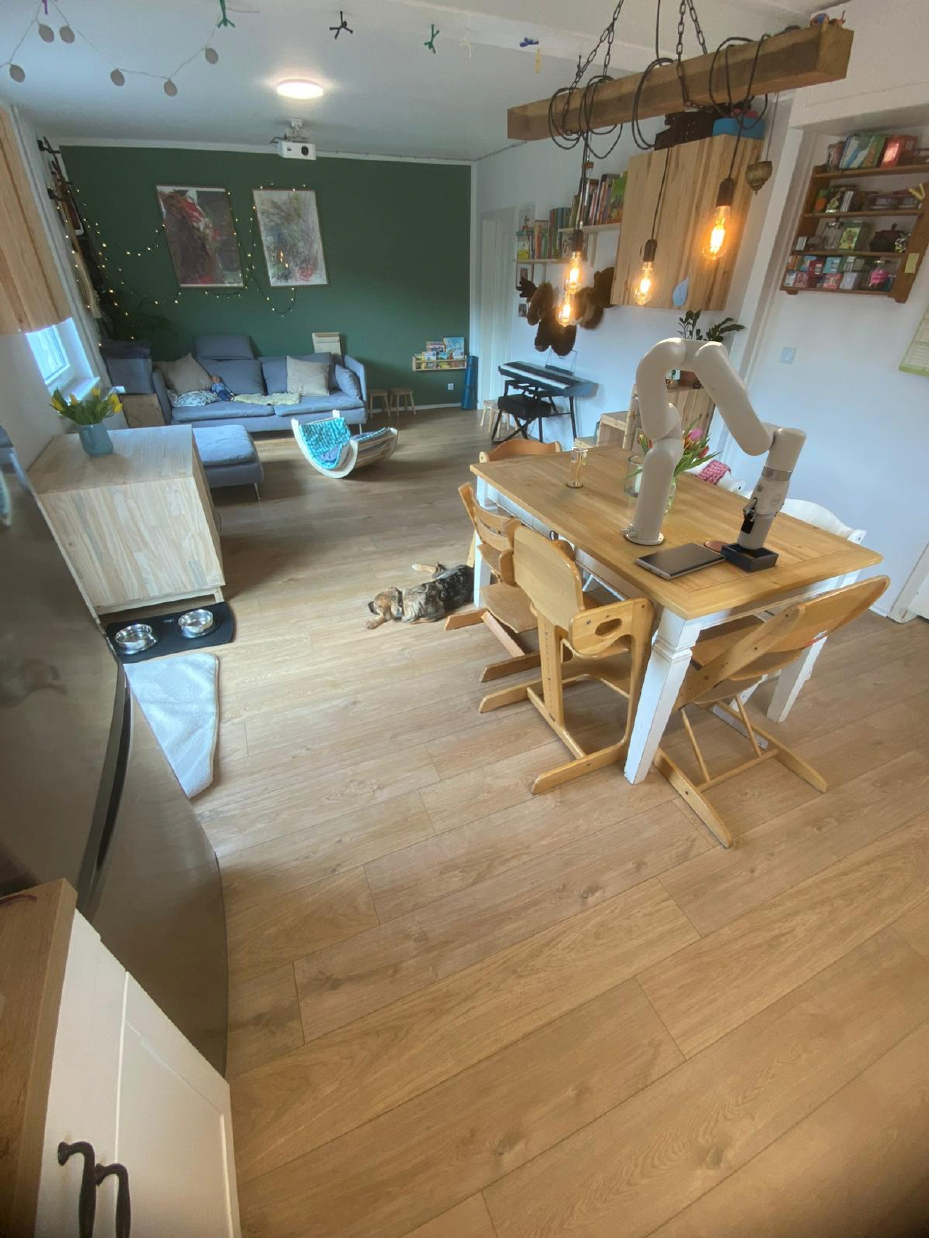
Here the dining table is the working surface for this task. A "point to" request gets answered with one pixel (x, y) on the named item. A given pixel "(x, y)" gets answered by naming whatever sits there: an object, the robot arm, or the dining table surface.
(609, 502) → the dining table surface
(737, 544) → the dark square tray
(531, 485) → the dining table surface
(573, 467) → the beer glass
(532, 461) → the dining table surface
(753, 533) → the can
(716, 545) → the coaster
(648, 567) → the smartphone
